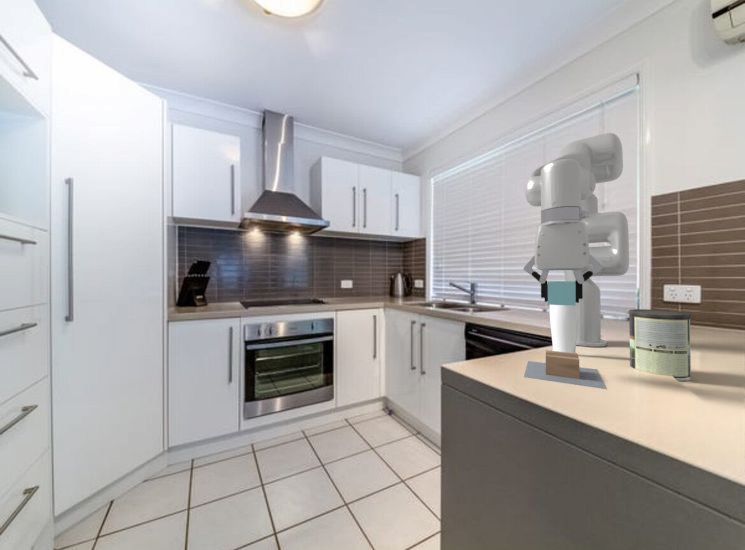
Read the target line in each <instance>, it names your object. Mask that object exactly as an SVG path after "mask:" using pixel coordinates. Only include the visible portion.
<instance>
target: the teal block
mask: <svg viewBox="0 0 745 550" xmlns="http://www.w3.org/2000/svg"><path fill="white" fill-rule="evenodd" d="M547 284H548V301H547V305H548V306H550V305H570V306H576V287H575V281H565V280H563V281H561V280H559V281H555V280H554V281H552V280H547Z"/></svg>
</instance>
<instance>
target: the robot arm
mask: <svg viewBox="0 0 745 550" xmlns="http://www.w3.org/2000/svg"><path fill="white" fill-rule="evenodd" d="M621 141H622V140H621V139H620V137H619V136H618V135H617V134H615V133H614V132H613V133H612V132H607V133H602V134H598V135H593V136H590V137H586V138H582V139H577V140H574V141H572V142H568V143H567V144H566V145H565V146H564V147H563V148H562V149H561V151H560V153H559V154H558V157H557V158H554V159H553V160H551V161H549V162H547V163H545V164H543V165H541V166H539V167H538V168H536V169H534V170H533V171H532V172H531V173H530V176H529V178H528V180H527V181H526V184H525V189H524V190H525V191H524V192H525V193H524V194H525V199H526V201H527V203H528V204H529V205H530V206H532V207H540V225H539V226H537V228H536V234H535V243H534V255H533V256H532V257H531V259H530V260H529V261H528V262H527V263H526V265H525V266H524V267H523V271H525V272H526V273H527V274H529V276H532V277H533V278H534V279H535V280H536V281H537V282H538V283H540V298H542V299H544V302H545V303H548V280H547V279H548V276H549V272H550V271H563V274H564V281H575V287H576V303H578V328H577V339H576V346H580V347H594V348H595V347H596V348H598V347H599V348H600V347H606V346H607V345H608V341H607V340H605V339H602V337H601V336H602V335H601V334H602V333H601V331H602V330H601V327H602V323H601V322H602V320H601V290H600V288H599V286H598V285H597V284H596V283H595V282H594V280H592V277H621V276H624V275H626V274H627V273H628V272H629V271H628V270H629V267H630V245H629V244H630V243H629V242H630V241H629V240H630V239H629V222H628V219H627V217H626V215H625V214H624V212H622V211H621V212H620V211H607V212H599V210H598V208H599V206H598V203H599V202H598V201H599V199H598V197H597V196H596V194H595V193H594V191H595V190H596V184H601V183H607V182H608V183H609V182H613V181H615V180H618V179H619V178H620V177H621V175H622V173H623V169H624V160H623V156H624V155H623V145H622V142H621ZM597 243H599V244H600V243H608V244H610V245H606V246H603V245H602V246H590V245H589V244H597ZM533 266H535V268H536V269H538V270H540V271H542V272H541V273H539V272H538V271H536V270H534V269H533Z"/></svg>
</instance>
